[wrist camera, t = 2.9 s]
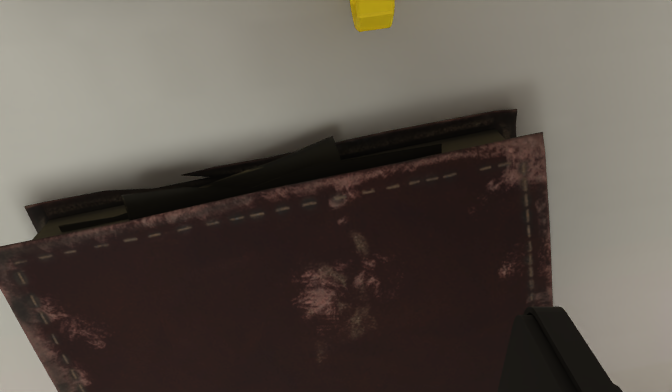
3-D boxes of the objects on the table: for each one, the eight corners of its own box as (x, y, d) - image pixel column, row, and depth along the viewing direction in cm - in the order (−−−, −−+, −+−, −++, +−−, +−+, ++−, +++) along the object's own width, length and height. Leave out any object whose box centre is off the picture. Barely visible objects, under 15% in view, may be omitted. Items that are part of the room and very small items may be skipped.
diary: (527, 370, 36) (559, 435, 31) (147, 439, 37) (125, 512, 32) (508, 86, 28) (548, 119, 23) (21, 188, 29) (-32, 238, 24)
